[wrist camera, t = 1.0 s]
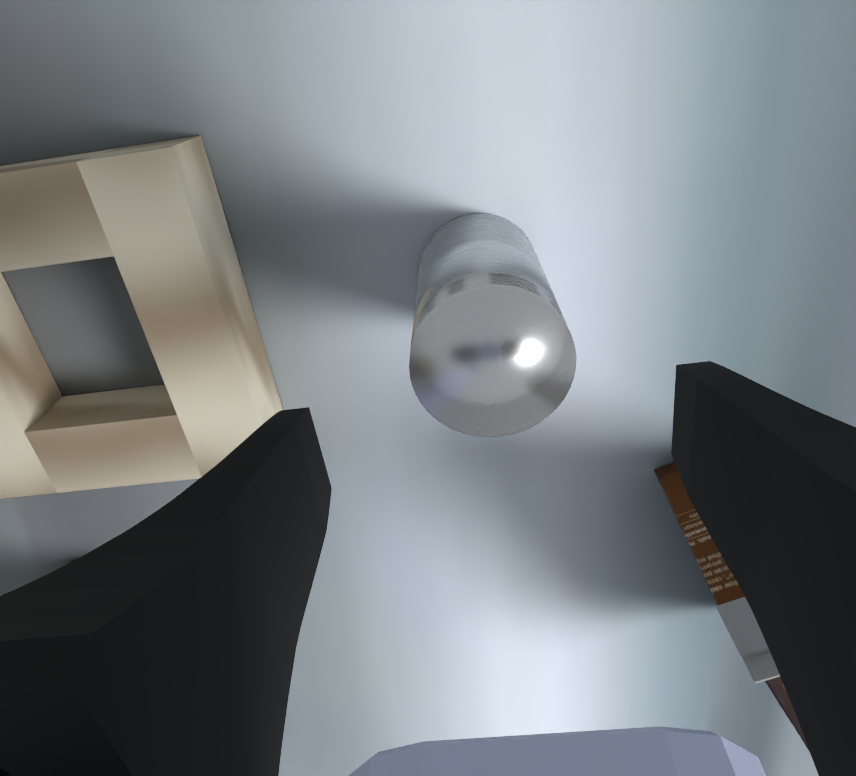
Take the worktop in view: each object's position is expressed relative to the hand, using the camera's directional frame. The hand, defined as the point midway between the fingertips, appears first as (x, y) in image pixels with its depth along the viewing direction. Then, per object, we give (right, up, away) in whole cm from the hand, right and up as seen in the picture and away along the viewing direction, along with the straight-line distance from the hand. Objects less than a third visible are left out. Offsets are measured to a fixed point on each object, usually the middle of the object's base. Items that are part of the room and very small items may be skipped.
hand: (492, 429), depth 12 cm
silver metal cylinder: (0, +5, +9) cm, 10 cm away
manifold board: (-17, +3, +10) cm, 20 cm away
